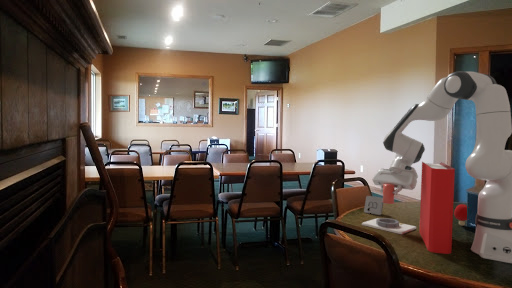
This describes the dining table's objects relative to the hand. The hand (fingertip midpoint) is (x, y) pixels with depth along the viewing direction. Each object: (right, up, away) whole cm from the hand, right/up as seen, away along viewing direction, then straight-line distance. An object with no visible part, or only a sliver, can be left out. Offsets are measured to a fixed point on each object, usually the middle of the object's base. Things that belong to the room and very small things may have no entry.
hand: (387, 193), depth 175 cm
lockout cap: (0, -5, +1) cm, 5 cm away
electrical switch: (+2, -15, +29) cm, 32 cm away
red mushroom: (+37, -17, +5) cm, 41 cm away
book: (+12, -18, -20) cm, 30 cm away
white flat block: (+1, -16, +2) cm, 16 cm away
